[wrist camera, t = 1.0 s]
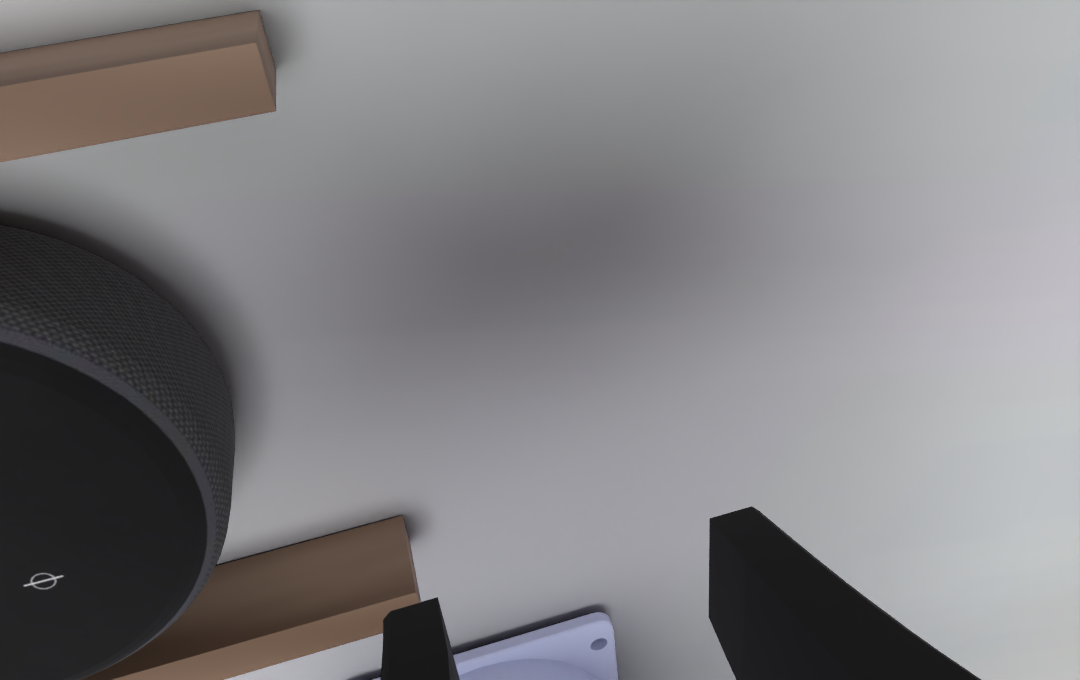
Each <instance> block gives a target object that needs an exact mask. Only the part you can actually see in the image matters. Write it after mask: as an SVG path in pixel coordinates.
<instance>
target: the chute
mask: <svg viewBox="0 0 1080 680" xmlns="http://www.w3.org/2000/svg"><path fill="white" fill-rule="evenodd" d="M273 111H276V68H275V65H274V61H273V58H272V54H271V51H270V47H269V44H268V40H267V37H266V33H265V30H264V26H263V23H262V19H261V16H260V12H259V10H257V11H251V12H245V13H239V14H233V15H227V16H221V17H215V18H209V19H203V20H197V21H191V22H185V23H179V24H173V25H167V26H161V27H154V28H148V29H142V30H136V31H130V32H124V33H118V34H112V35H106V36H100V37H94V38H88V39H82V40H76V41H70V42H64V43H58V44H52V45H46V46H40V47H34V48H28V49H22V50H16V51H10V52H4V53H0V162H5V161H10V160H16V159H21V158H26V157H32V156H37V155H42V154H48V153H53V152H59V151H64V150H69V149H75V148H80V147H85V146H91V145H96V144H101V143H107V142H112V141H118V140H123V139H128V138H134V137H139V136H144V135H150V134H155V133H161V132H166V131H171V130H177V129H182V128H187V127H193V126H198V125H204V124H209V123H214V122H220V121H225V120H230V119H236V118H241V117H247V116H252V115H257V114H263V113H268V112H273ZM420 602H421V600H420V595H419V589H418V584H417V578H416V573H415V568H414V562H413V557H412V552H411V546H410V542H409V538H408V535H407V531H406V527H405V524H404V520H403V517H402V516H398V517H395V518H391V519H387V520H384V521H380V522H376V523H373V524H369V525H365V526H362V527H358V528H354V529H350V530H347V531H343V532H339V533H336V534H332V535H328V536H325V537H321V538H317V539H314V540H310V541H306V542H303V543H299V544H295V545H292V546H288V547H284V548H280V549H277V550H273V551H269V552H266V553H262V554H258V555H255V556H251V557H247V558H244V559H240V560H236V561H233V562H229V563H225V564H221V565H218V566H215V568H214V570H213V572H212V574H211V576H210V577H209V579H208V581H207V582H206V584H205V586H204V587H203V589H202V590H201V592H200V593H199V594H198V596H197V597H196V598H195V600H194V601H193V602H192V604H191V605H190V606H189V607H188V609H187V610H186V611H185V612H184V613H183V614H182V615H181V616H180V617H179V618H178V619H177V620H176V621H175V622H174V623H173V624H172V625H171V626H169V627H168V628H167V629H166V630H165V631H164V632H162V633H161V634H160V635H159V636H157V637H156V638H155V639H153V640H152V641H151V642H149V643H148V644H147V645H145V646H144V647H142V648H141V649H140V650H138V651H136V652H135V653H133V654H131V655H130V656H128V657H127V658H125V659H123V660H121V661H120V662H118V663H116V664H114V665H112V666H110V667H108V668H106V669H104V670H102V671H99V672H97V673H95V674H92V675H90V676H88V677H85V678H83V679H80V680H224V679H227V678H231V677H234V676H238V675H241V674H245V673H248V672H251V671H255V670H258V669H262V668H265V667H268V666H272V665H275V664H279V663H282V662H285V661H289V660H292V659H296V658H299V657H302V656H306V655H309V654H313V653H316V652H319V651H323V650H326V649H330V648H333V647H336V646H340V645H343V644H347V643H350V642H354V641H357V640H360V639H364V638H367V637H371V636H374V635H377V634H381V633H383V619H384V618H385V617H386V616H387V614H388V613H389V612H390V611H393V610H396V609H399V608H403V607H406V606H410V605H413V604H417V603H420Z"/></svg>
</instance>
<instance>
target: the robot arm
mask: <svg viewBox="0 0 1080 680" xmlns="http://www.w3.org/2000/svg"><path fill="white" fill-rule="evenodd" d="M709 619H710V621H711V623H712V625H713V628H714V630H715V632H716V635H717V637H718V639H719V642H720V644H721V646H722V648H723V651H724V653H725V655H726V658H727V660H728V662H729V664H730V666H731V669H732V671H733V673H734V675H735V677H736V679H737V680H981V679H979V678H978V677H976V676H975V675H973V674H972V673H970V672H969V671H968V670H966V669H965V668H963V667H962V666H960V665H959V664H957V663H956V662H954V661H953V660H951V659H950V658H948V657H947V656H946V655H944V654H943V653H941V652H940V651H938V650H937V649H935V648H934V647H932V646H931V645H930V644H928V643H927V642H925V641H924V640H923V639H921V638H920V637H918V636H917V635H916V634H914V633H913V632H911V631H910V630H909V629H907V628H906V627H905V626H903V625H902V624H901V623H899V622H898V621H897V620H895V619H894V618H893V617H891V616H890V615H889V614H887V613H886V612H885V611H883V610H882V609H881V608H879V607H878V606H877V605H875V604H874V603H873V602H871V601H870V600H869V599H867V598H866V597H864V596H863V595H862V594H861V593H859V592H858V591H857V590H855V589H854V588H853V587H852V586H850V585H849V584H848V583H846V582H845V581H844V580H843V579H841V578H840V577H839V576H838V575H836V574H835V573H834V572H833V571H831V570H830V569H829V568H828V567H826V566H825V565H824V564H823V563H821V562H820V561H819V560H818V559H816V558H815V557H814V556H813V555H811V554H810V553H809V552H808V551H807V550H805V549H804V548H803V547H802V546H800V545H799V544H798V543H797V542H796V541H794V540H793V539H792V538H791V537H790V536H788V535H787V534H786V533H785V532H784V531H782V530H781V529H780V528H779V527H778V526H776V525H775V524H774V523H773V522H772V521H770V520H769V519H768V518H767V517H766V516H764V515H763V514H762V513H761V512H760V511H758V510H757V509H755V508H754V507H748V508H745V509H741V510H738V511H734V512H731V513H727V514H724V515H721V516H717V517H714V518H710V549H709ZM373 680H618V673H617V662H616V651H615V640H614V629H613V625H612V623H611V621H610V618H609V616H608V615H607V614H605V613H600V612H596V613H591V614H588V615H584V616H581V617H578V618H575V619H571V620H568V621H565V622H561V623H558V624H555V625H551V626H548V627H545V628H541V629H538V630H535V631H531V632H528V633H525V634H522V635H518V636H515V637H512V638H508V639H505V640H502V641H498V642H495V643H492V644H488V645H485V646H482V647H479V648H475V649H472V650H469V651H465V652H462V653H459V654H455V655H453V653H452V649H451V645H450V641H449V638H448V634H447V630H446V627H445V623H444V619H443V616H442V612H441V608H440V605H439V601H438V597H437V598H434V599H431V600H427V601H424V602H420V603H417V604H413V605H410V606H406V607H403V608H399V609H396V610H393V611H390V612H389V613H388V614H387V616H386V617H385V618H384V619H383V654H382V669H381V677H379V678H376V679H373Z"/></svg>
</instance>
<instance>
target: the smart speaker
mask: <svg viewBox="0 0 1080 680" xmlns="http://www.w3.org/2000/svg"><path fill="white" fill-rule="evenodd" d="M234 450H235V434H234V419H233V412H232V406H231V400H230V397H229V393H228V390H227V386H226V383H225V381H224V378H223V376H222V373H221V371H220V369H219V366H218V365H217V363H216V361H215V359H214V357H213V356H212V354H211V352H210V350H209V349H208V347H207V346H206V345H205V343H204V342H203V340H202V339H201V338H200V336H199V335H198V333H197V332H196V331H195V330H194V329H193V328H192V326H191V325H190V324H189V323H188V322H187V321H186V319H185V318H184V317H183V316H182V315H181V314H180V313H179V312H178V311H177V310H175V309H174V308H173V307H172V306H171V305H170V304H169V303H168V302H167V301H166V300H165V299H164V298H163V297H161V296H160V295H159V294H158V293H156V292H155V291H154V290H152V289H151V288H150V287H149V286H147V285H146V284H145V283H143V282H142V281H140V280H139V279H137V278H136V277H134V276H133V275H131V274H130V273H128V272H127V271H125V270H123V269H121V268H120V267H118V266H116V265H114V264H112V263H111V262H109V261H107V260H105V259H103V258H101V257H99V256H97V255H95V254H92V253H90V252H88V251H86V250H84V249H81V248H79V247H77V246H74V245H71V244H68V243H66V242H63V241H60V240H57V239H55V238H52V237H48V236H45V235H41V234H38V233H34V232H31V231H27V230H23V229H18V228H13V227H8V226H3V225H0V680H80V679H83V678H85V677H88V676H90V675H92V674H95V673H97V672H99V671H102V670H104V669H106V668H108V667H110V666H112V665H114V664H116V663H118V662H120V661H121V660H123V659H125V658H127V657H128V656H130V655H131V654H133V653H135V652H136V651H138V650H140V649H141V648H142V647H144V646H145V645H147V644H148V643H149V642H151V641H152V640H153V639H155V638H156V637H157V636H159V635H160V634H161V633H162V632H164V631H165V630H166V629H167V628H168V627H169V626H171V625H172V624H173V623H174V622H175V621H176V620H177V619H178V618H179V617H180V616H181V615H182V614H183V613H184V612H185V611H186V610H187V609H188V607H189V606H190V605H191V604H192V602H193V601H194V600H195V598H196V597H197V596H198V594H199V593H200V592H201V590H202V589H203V587H204V586H205V584H206V582H207V581H208V579H209V577H210V576H211V574H212V572H213V570H214V568H215V566H216V564H217V561H218V559H219V557H220V555H221V551H222V548H223V545H224V541H225V538H226V533H227V528H228V522H229V515H230V508H231V495H232V480H233V465H234Z"/></svg>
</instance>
